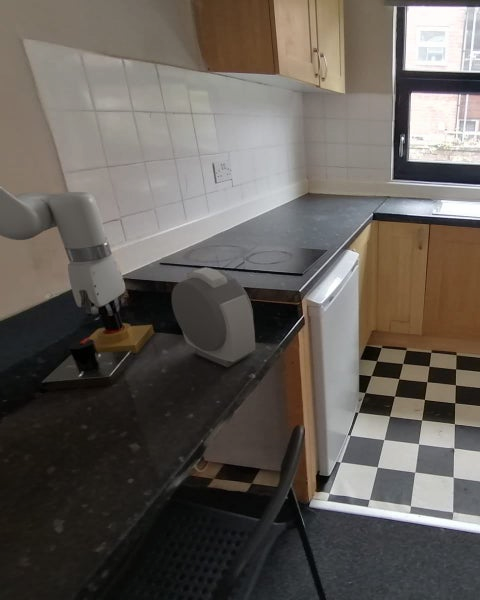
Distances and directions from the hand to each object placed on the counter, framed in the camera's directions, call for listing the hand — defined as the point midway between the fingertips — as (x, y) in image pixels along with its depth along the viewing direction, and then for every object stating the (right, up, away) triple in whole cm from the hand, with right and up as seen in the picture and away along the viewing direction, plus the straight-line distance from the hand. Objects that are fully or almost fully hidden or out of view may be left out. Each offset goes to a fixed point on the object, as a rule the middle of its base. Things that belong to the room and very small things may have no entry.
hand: (114, 328), depth 93 cm
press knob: (0, -2, +1) cm, 2 cm away
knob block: (0, -4, +2) cm, 4 cm away
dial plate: (+2, -9, -9) cm, 13 cm away
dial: (+2, -7, -10) cm, 12 cm away
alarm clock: (+26, -6, -2) cm, 27 cm away
